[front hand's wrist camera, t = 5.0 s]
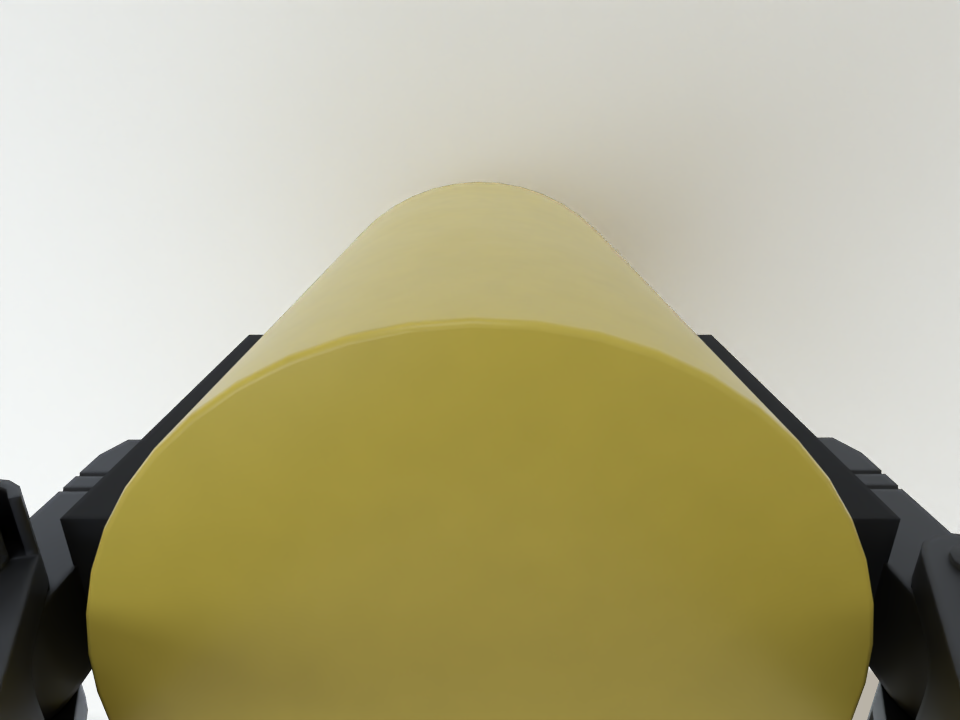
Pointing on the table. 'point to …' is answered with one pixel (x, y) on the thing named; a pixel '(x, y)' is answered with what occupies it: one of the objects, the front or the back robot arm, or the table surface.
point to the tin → (480, 505)
